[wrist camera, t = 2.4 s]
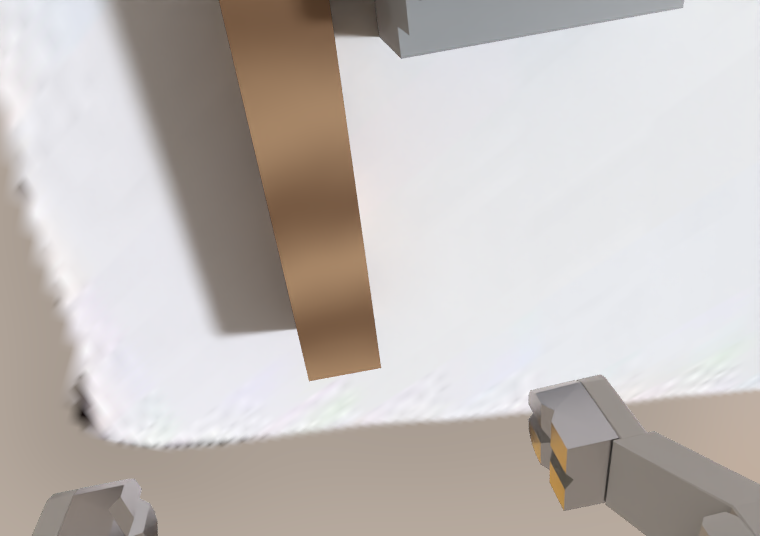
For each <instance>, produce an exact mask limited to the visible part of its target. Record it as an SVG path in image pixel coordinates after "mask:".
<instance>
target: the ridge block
mask: <svg viewBox="0 0 760 536" xmlns="http://www.w3.org/2000/svg"><path fill="white" fill-rule="evenodd" d="M683 4H684V0H375V7H376V15H377V22H378V30H379V37H380V38H381V39H382V40H383V41H384V42H385V43H386V44H387V45H388V46H389V47H390V48H391V49H392V50H393V51H394V52H395V53H396V54H397V55H398V56H399V57H400V58H401V59H402V58H407V57H413V56H418V55H424V54H430V53H435V52H441V51H446V50H452V49H457V48H463V47H468V46H474V45H479V44H485V43H490V42H496V41H502V40H507V39H513V38H518V37H524V36H529V35H535V34H540V33H546V32H551V31H557V30H562V29H568V28H574V27H579V26H585V25H590V24H596V23H601V22H607V21H612V20H618V19H623V18H629V17H634V16H640V15H645V14H651V13H657V12H662V11H668V10H673V9H679V8H683Z"/></svg>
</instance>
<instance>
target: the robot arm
mask: <svg viewBox="0 0 760 536" xmlns="http://www.w3.org/2000/svg"><path fill="white" fill-rule="evenodd" d="M529 406H530V408H531V410H532V412H533V414H532V415H531V417H530V418H529V433H530V438H531V442H532V445H533V448H534V451H535V454H536V456H537V458H538V460H539V462H540V464H541V465H543V466H544V467H546V468H548V469H549V470H550V484H551V486H552V488H553V490H554V492H555V494H556V496H557V498H558V500H559V502H560V504H561V506H562V508H563V510H564V511H566V510H571V509H575V508H581V507H585V506H590V505H595V504H600V503H605V502H606V505H607V506H608V507H609V508H611V509H612V510H613V511H615V512H616V513H617V514H618V515H620V516H621V517H623V518H624V519H625V520H626V521H628V522H629V523H630V524H632V525H633V526H634V527H636V528H637V529H638V530H639V531H641V532H642V533H643V534H645V535H646V536H760V484H758V483H756V482H754V481H752V480H750V479H748V478H746V477H744V476H742V475H740V474H738V473H736V472H734V471H732V470H730V469H728V468H726V467H724V466H722V465H720V464H718V463H716V462H714V461H712V460H710V459H708V458H706V457H704V456H702V455H700V454H698V453H696V452H694V451H692V450H690V449H689V448H687V447H684V446H683V445H681V444H678V443H676V442H675V441H673V440H670V439H669V438H667V437H664V436H663V435H661V434H659V433H657V432H655V431H653V432H648V433H647V432H646V430H645V429H644V428H643V427H642V425H641V424H640V423H639V421H638V420H637V419H636V418H635V416H634V415H633V413H632V412H631V411H630V409H629V408H628V407H627V405H626V404H625V403H624V402H623V400H622V399H621V398H620V396H619V395H618V394H617V392H616V391H615V390H614V388H613V387H612V386H611V384H610V383H609V382H608V380H607V379H606V378H605V377H604V376H602V375H596V376H592V377H587V378H583V379H579V380H576V381H575V380H573V381H569V382H565V383H560V384H556V385H552V386H547V387H543V388H539V389H534V390H530V393H529ZM141 490H142V489H141V487H140V486H139V484H138V483H137V481H136V480H135V479H126V480H121V481H116V482H110V483H105V484H100V485H96V486H90V487H85V488H80V489H76V490H71V491H66V492H61V493H56V494H53V495H52V496H51V498H49V499H48V500H47V502H46V504H45V507H44V509H43V511H42V513H41V516H40V518H39V520H38V523H37V525H36V527H35V529H34V532H33V534H32V536H158V527H157V519H156V515H155V511H154V510H153V508H152V506H151V504H150V503H148V502H146V501H144V500H142V499H140V493H141Z"/></svg>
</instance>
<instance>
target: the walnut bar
mask: <svg viewBox="0 0 760 536" xmlns="http://www.w3.org/2000/svg"><path fill="white" fill-rule="evenodd" d="M219 3H220V7H221V11H222V15H223V20H224V24H225V28H226V32H227V37H228V41H229V45H230V49H231V53H232V58H233V62H234V66H235V70H236V75H237V79H238V83H239V87H240V91H241V96H242V100H243V104H244V108H245V113H246V117H247V121H248V125H249V129H250V134H251V138H252V142H253V146H254V150H255V155H256V159H257V163H258V167H259V172H260V176H261V180H262V184H263V188H264V193H265V197H266V201H267V205H268V210H269V214H270V218H271V222H272V226H273V231H274V235H275V239H276V243H277V247H278V252H279V256H280V260H281V264H282V269H283V273H284V277H285V281H286V285H287V290H288V294H289V298H290V302H291V307H292V311H293V315H294V319H295V323H296V328H297V332H298V336H299V340H300V345H301V349H302V353H303V357H304V361H305V366H306V370H307V374H308V378H309V381H313V380H318V379H323V378H329V377H334V376H340V375H345V374H351V373H356V372H361V371H367V370H372V369H378V368H381V364H380V357H379V350H378V343H377V335H376V328H375V321H374V314H373V307H372V300H371V293H370V286H369V279H368V271H367V264H366V257H365V250H364V243H363V236H362V229H361V222H360V215H359V208H358V200H357V193H356V186H355V179H354V172H353V165H352V158H351V151H350V144H349V137H348V129H347V122H346V115H345V108H344V101H343V94H342V87H341V80H340V73H339V66H338V58H337V51H336V44H335V37H334V30H333V23H332V16H331V9H330V2H329V0H219Z"/></svg>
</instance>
